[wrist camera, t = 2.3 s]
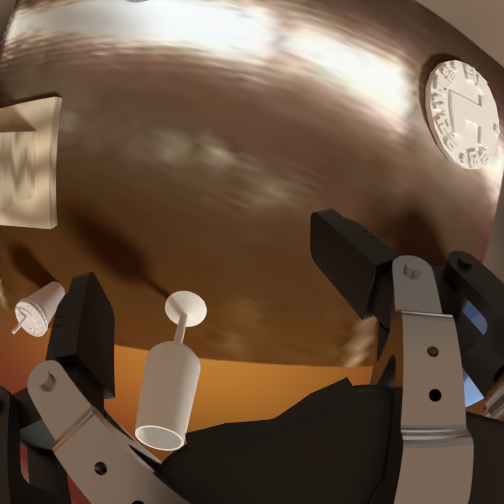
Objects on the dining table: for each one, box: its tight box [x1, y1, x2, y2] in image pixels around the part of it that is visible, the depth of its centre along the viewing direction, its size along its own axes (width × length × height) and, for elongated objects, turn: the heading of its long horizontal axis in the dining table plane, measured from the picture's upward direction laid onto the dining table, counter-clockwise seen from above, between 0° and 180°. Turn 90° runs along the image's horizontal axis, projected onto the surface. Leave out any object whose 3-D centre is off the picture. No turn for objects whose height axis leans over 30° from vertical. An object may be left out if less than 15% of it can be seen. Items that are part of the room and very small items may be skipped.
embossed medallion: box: [425, 60, 500, 169], centre depth 34 cm, size 20×20×3 cm
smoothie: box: [12, 281, 65, 336], centre depth 35 cm, size 6×6×14 cm
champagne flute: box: [135, 291, 206, 450], centre depth 33 cm, size 7×7×24 cm
